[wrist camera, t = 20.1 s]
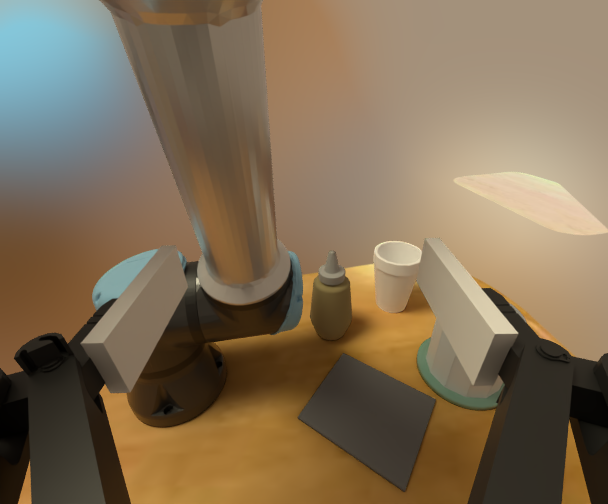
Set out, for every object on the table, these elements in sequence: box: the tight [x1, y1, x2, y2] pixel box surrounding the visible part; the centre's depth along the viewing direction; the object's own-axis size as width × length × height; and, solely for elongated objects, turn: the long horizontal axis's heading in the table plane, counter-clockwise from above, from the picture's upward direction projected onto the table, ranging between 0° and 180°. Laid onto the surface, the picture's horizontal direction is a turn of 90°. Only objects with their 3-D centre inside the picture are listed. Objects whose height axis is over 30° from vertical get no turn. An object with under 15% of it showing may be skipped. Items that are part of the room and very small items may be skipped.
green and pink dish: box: [417, 338, 505, 410], centre depth 49 cm, size 14×14×5 cm
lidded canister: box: [426, 303, 526, 398], centre depth 46 cm, size 11×11×14 cm
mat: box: [298, 353, 436, 492], centre depth 45 cm, size 16×14×1 cm
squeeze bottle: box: [310, 251, 352, 340], centre depth 54 cm, size 8×8×18 cm
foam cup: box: [373, 241, 422, 313], centre depth 62 cm, size 10×9×13 cm
